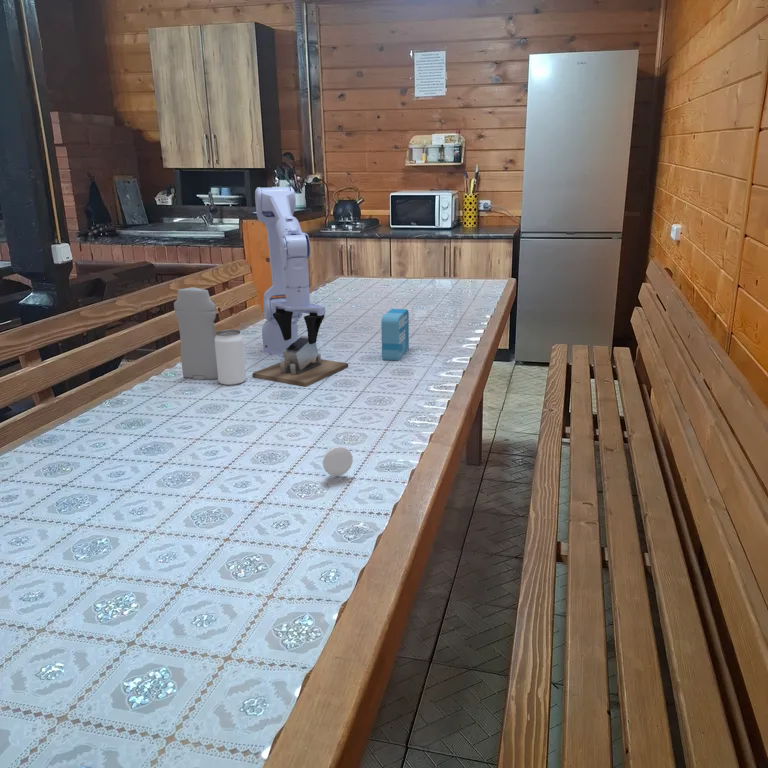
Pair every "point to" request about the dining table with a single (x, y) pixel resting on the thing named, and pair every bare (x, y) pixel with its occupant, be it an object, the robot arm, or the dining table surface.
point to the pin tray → (301, 372)
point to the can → (230, 357)
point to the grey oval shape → (337, 461)
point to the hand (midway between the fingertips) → (299, 341)
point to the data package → (395, 334)
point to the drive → (300, 353)
